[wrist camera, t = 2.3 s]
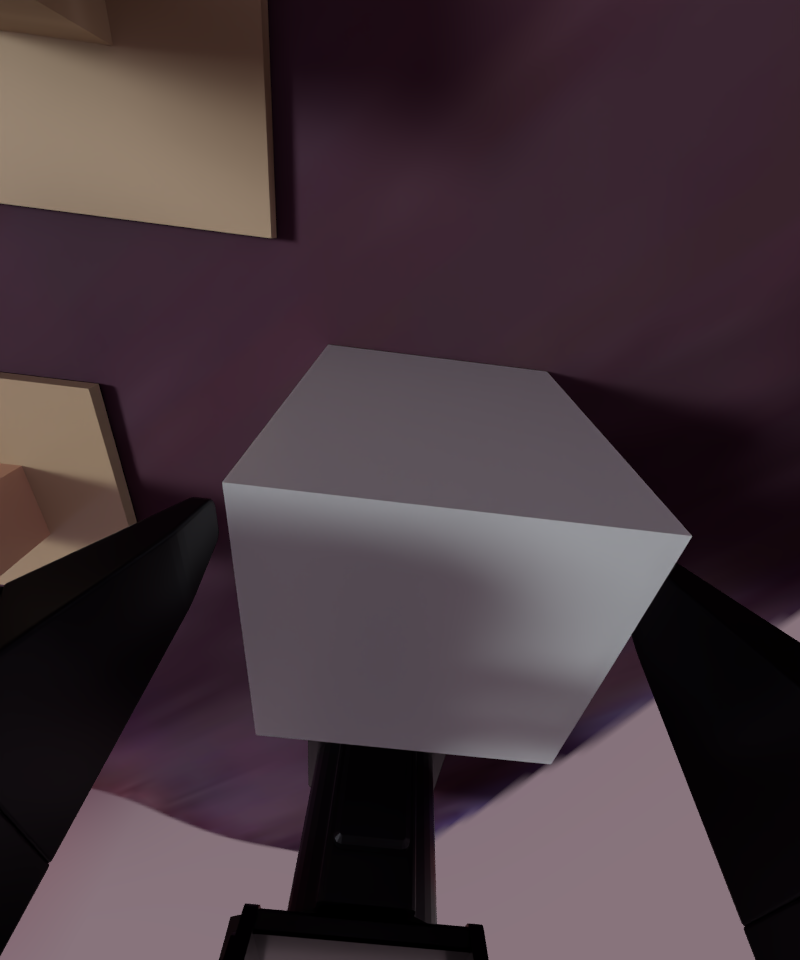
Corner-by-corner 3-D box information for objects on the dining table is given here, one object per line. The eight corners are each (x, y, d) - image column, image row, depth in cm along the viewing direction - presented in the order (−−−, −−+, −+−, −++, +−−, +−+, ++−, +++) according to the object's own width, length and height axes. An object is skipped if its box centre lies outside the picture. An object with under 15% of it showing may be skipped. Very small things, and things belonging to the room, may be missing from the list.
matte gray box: (496, 540, 14) (550, 764, 8) (324, 520, 13) (255, 734, 8) (546, 371, 11) (692, 535, 5) (328, 344, 10) (222, 481, 5)
